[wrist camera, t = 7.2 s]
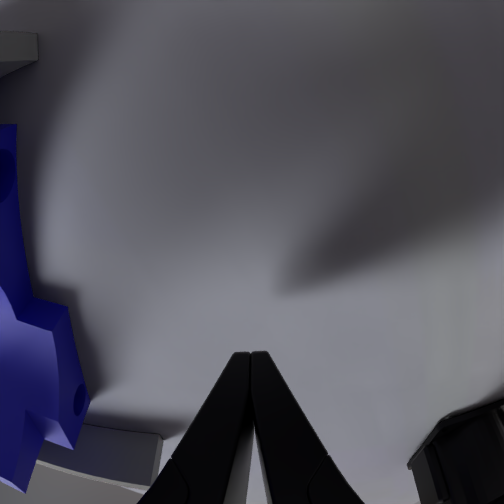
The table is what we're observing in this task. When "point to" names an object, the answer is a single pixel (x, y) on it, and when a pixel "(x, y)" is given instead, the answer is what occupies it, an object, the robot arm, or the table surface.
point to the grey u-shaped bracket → (90, 437)
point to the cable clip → (31, 348)
